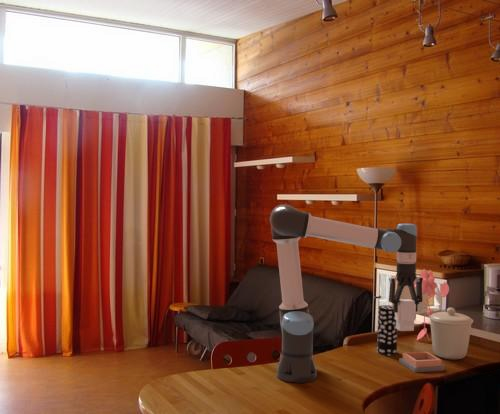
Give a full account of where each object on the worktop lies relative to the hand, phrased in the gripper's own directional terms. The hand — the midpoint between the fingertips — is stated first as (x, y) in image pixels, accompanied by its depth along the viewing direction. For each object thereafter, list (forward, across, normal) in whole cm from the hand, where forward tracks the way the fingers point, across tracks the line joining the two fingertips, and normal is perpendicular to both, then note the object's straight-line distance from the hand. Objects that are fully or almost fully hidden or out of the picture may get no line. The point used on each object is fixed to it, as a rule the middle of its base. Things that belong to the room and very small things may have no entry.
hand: (405, 319), depth 228 cm
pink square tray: (+19, +8, +1) cm, 21 cm away
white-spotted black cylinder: (+20, +2, +20) cm, 28 cm away
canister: (+20, +27, +12) cm, 35 cm away
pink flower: (+20, +25, +30) cm, 43 cm away
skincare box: (+4, 0, 0) cm, 4 cm away
